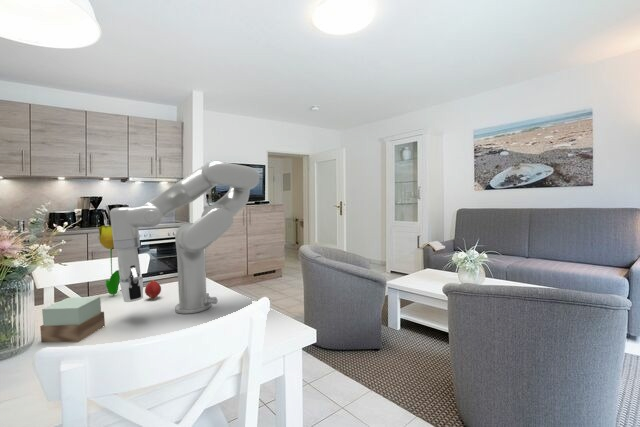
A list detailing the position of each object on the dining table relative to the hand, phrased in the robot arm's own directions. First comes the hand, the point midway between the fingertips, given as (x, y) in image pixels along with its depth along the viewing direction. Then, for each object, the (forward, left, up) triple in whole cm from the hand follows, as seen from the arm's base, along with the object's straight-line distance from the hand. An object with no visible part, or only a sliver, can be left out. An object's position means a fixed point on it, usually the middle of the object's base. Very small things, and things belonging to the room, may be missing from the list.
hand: (133, 295), depth 108 cm
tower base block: (+12, +11, -9) cm, 18 cm away
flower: (+24, -25, -8) cm, 36 cm away
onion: (+5, -21, -8) cm, 23 cm away
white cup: (0, 0, -1) cm, 1 cm away
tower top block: (+12, +11, -4) cm, 17 cm away
